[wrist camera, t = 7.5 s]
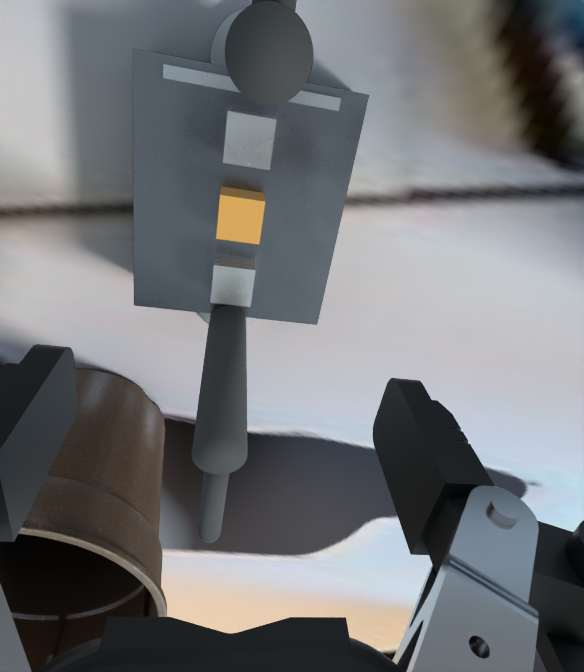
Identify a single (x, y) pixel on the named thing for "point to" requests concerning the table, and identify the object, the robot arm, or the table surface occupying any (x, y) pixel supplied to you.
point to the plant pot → (91, 525)
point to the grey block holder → (241, 173)
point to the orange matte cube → (240, 215)
